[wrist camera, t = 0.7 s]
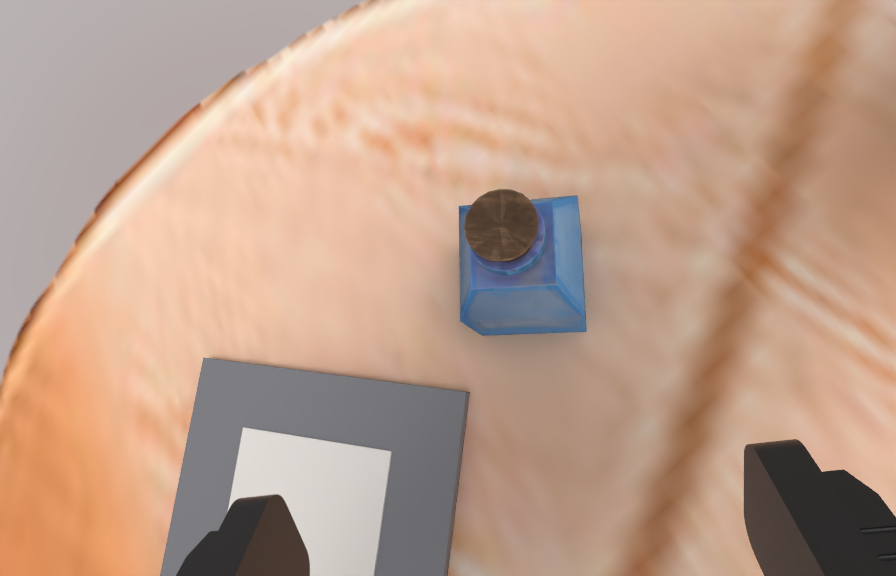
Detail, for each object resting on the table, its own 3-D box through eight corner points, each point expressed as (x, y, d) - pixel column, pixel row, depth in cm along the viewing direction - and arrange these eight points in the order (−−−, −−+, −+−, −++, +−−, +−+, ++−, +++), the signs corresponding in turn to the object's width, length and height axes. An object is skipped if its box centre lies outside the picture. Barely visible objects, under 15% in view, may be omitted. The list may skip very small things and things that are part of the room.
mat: (469, 392, 36) (465, 391, 35) (429, 721, 33) (423, 732, 32) (212, 358, 41) (201, 357, 40) (156, 643, 38) (143, 651, 37)
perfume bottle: (581, 230, 36) (572, 147, 25) (586, 331, 35) (580, 293, 24) (480, 238, 38) (429, 163, 26) (482, 335, 37) (429, 301, 25)
